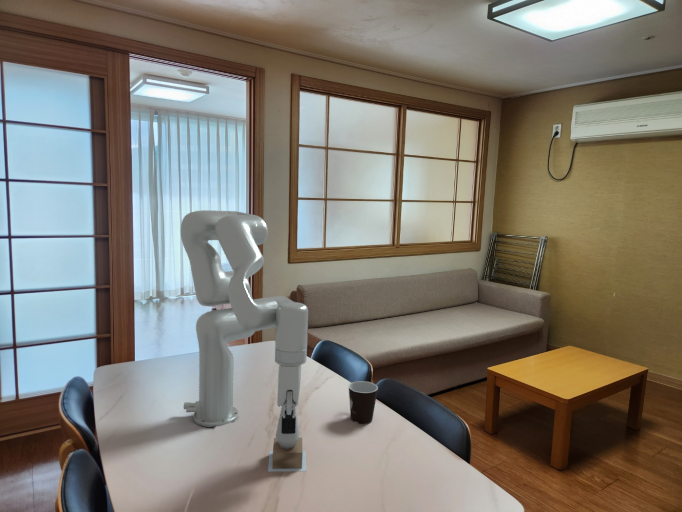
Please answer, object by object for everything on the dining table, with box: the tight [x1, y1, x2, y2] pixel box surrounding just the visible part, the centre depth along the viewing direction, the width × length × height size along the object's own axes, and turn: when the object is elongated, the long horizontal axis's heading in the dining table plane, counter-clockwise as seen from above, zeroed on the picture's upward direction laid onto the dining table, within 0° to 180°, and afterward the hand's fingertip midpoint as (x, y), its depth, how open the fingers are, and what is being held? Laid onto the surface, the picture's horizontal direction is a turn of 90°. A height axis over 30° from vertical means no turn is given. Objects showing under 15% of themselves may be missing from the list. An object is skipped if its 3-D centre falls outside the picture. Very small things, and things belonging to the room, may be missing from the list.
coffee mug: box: [348, 380, 379, 425], centre depth 140 cm, size 12×9×10 cm
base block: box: [272, 437, 304, 469], centre depth 114 cm, size 7×7×4 cm
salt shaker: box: [275, 392, 300, 449], centre depth 113 cm, size 6×6×13 cm
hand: (288, 423), depth 113 cm, fingers open, 9 cm apart
